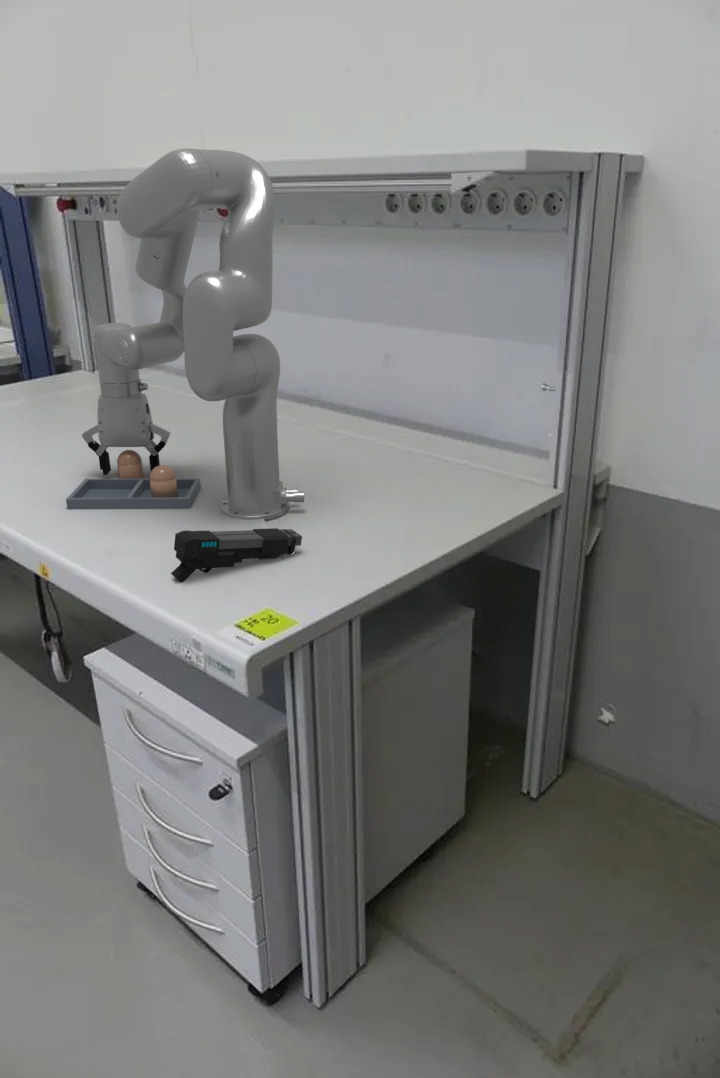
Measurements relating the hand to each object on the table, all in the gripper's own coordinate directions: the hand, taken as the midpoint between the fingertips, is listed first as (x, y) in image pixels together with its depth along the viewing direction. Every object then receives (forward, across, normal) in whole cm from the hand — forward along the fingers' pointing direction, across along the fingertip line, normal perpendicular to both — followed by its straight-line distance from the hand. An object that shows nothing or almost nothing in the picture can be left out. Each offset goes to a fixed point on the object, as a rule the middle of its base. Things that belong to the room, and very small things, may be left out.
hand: (130, 472), depth 164 cm
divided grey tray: (+2, -4, +12) cm, 13 cm away
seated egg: (+1, -9, +12) cm, 15 cm away
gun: (+2, -27, +41) cm, 49 cm away
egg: (+2, 0, 0) cm, 2 cm away
